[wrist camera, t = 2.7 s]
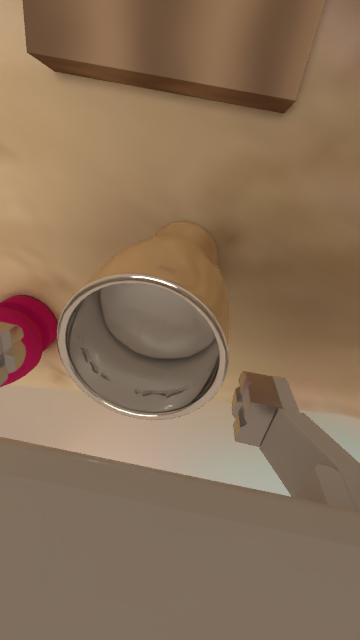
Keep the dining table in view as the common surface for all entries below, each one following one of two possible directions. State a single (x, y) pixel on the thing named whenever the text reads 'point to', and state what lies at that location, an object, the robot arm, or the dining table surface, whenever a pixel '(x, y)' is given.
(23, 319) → the pepper mill
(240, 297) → the dining table surface
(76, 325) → the beer glass
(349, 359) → the dining table surface
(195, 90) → the walnut base
